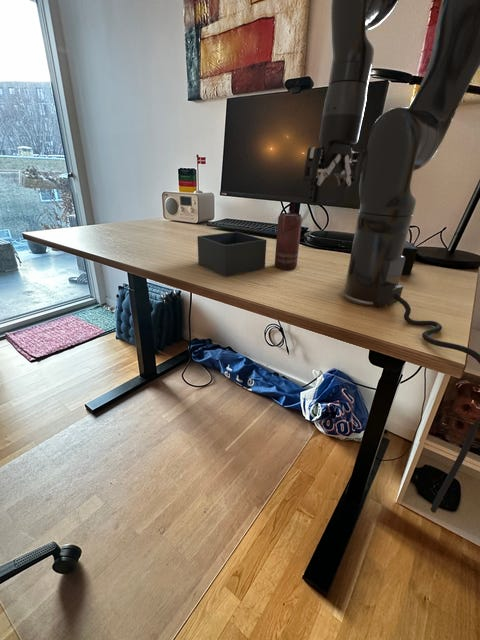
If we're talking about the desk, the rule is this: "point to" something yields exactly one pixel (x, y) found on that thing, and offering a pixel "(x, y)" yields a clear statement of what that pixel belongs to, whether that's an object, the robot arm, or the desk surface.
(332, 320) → the desk surface
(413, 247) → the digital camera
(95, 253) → the desk surface
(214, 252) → the bin
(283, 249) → the can
